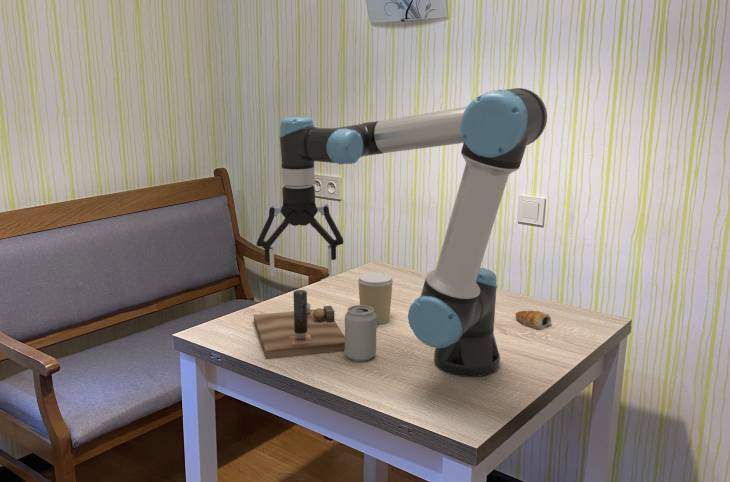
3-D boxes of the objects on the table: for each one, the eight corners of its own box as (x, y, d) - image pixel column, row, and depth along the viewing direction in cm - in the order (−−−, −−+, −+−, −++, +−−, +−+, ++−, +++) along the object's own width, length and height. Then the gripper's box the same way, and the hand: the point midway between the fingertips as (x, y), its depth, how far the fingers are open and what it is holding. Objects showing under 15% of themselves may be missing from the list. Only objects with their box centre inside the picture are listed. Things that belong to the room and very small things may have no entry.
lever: (295, 309, 193) (295, 267, 189) (310, 309, 193) (310, 267, 190) (292, 341, 172) (291, 294, 169) (309, 341, 172) (308, 294, 169)
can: (381, 353, 171) (382, 306, 168) (366, 365, 164) (366, 316, 161) (355, 347, 174) (355, 301, 171) (338, 358, 168) (338, 310, 165)
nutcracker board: (348, 350, 173) (348, 330, 171) (265, 358, 168) (265, 338, 166) (327, 315, 195) (326, 297, 194) (253, 322, 190) (253, 303, 188)
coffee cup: (393, 313, 197) (394, 272, 193) (391, 326, 188) (391, 283, 184) (359, 312, 197) (360, 271, 194) (356, 324, 188) (356, 281, 185)
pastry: (509, 321, 192) (510, 308, 191) (524, 315, 196) (525, 302, 195) (539, 331, 185) (540, 317, 184) (553, 325, 190) (554, 312, 189)
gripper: (351, 181, 168) (353, 267, 173) (245, 183, 166) (250, 270, 172) (353, 187, 160) (354, 277, 166) (242, 189, 159) (246, 279, 164)
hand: (301, 273), depth 169 cm, fingers open, 13 cm apart
